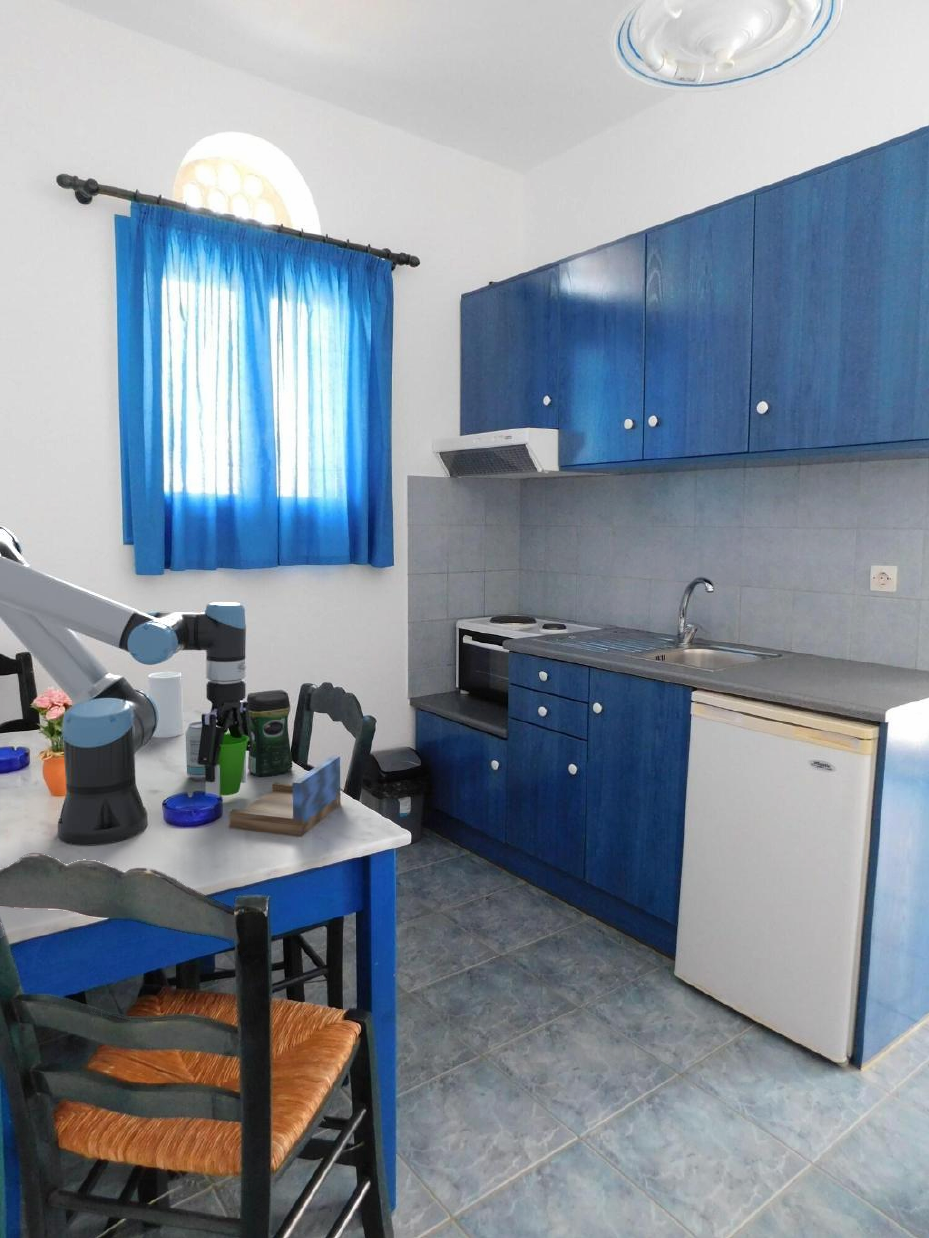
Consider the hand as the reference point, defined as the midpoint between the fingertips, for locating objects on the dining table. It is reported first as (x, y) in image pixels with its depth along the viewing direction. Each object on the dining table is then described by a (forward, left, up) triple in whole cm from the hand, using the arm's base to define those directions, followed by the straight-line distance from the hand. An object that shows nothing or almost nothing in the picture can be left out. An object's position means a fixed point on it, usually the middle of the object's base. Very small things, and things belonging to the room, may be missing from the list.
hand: (226, 788), depth 164 cm
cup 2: (0, 0, -1) cm, 1 cm away
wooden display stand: (-4, -16, -3) cm, 16 cm away
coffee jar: (+20, +1, -3) cm, 21 cm away
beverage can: (+12, +13, -3) cm, 18 cm away
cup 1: (+41, +43, -3) cm, 60 cm away
